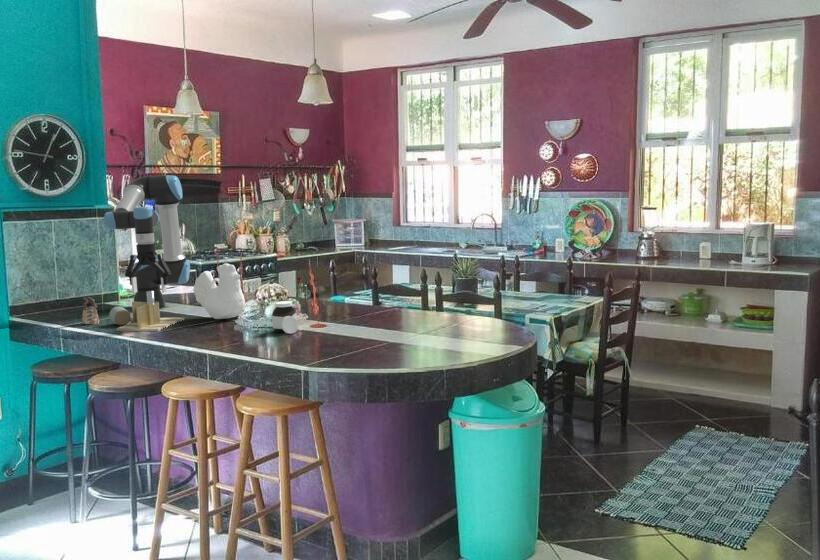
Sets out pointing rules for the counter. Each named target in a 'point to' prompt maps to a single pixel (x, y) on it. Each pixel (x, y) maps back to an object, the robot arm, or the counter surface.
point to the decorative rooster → (220, 292)
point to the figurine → (89, 312)
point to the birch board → (163, 323)
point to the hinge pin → (150, 297)
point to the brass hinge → (145, 313)
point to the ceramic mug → (120, 316)
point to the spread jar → (284, 317)
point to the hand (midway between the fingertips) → (149, 292)
